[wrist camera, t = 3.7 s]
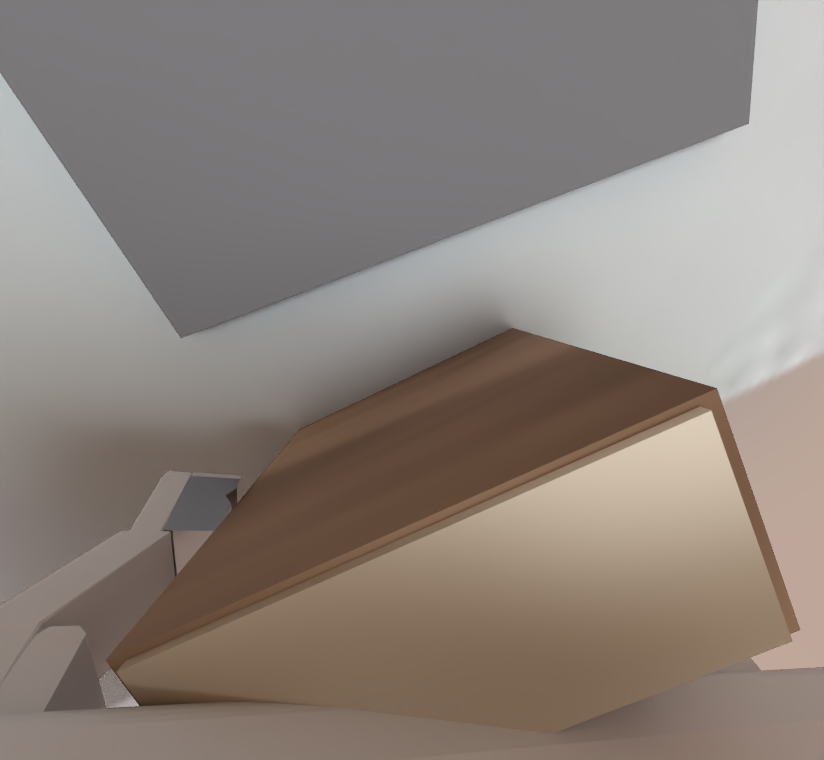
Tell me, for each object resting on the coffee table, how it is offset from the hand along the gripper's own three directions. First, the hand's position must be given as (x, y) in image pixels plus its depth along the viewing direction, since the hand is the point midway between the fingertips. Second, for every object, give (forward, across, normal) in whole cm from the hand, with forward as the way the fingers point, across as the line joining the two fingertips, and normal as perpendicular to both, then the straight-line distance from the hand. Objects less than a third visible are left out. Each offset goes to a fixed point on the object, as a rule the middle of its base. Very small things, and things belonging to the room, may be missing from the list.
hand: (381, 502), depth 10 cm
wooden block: (+3, -2, 0) cm, 3 cm away
